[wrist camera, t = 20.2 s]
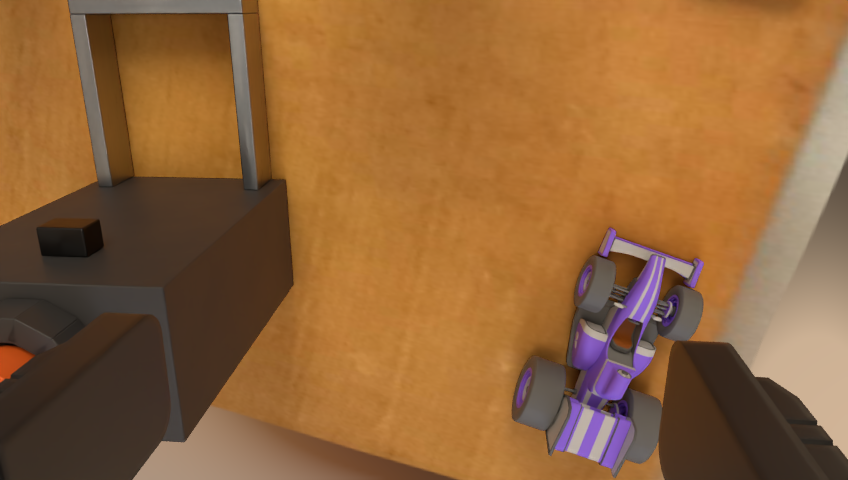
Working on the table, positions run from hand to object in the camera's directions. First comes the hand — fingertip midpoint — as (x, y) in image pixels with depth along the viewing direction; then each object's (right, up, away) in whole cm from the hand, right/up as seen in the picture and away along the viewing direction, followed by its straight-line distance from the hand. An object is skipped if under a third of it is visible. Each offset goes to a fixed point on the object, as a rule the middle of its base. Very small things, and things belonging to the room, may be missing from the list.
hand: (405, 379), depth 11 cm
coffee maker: (-16, +3, +39) cm, 42 cm away
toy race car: (+14, -5, +39) cm, 41 cm away
